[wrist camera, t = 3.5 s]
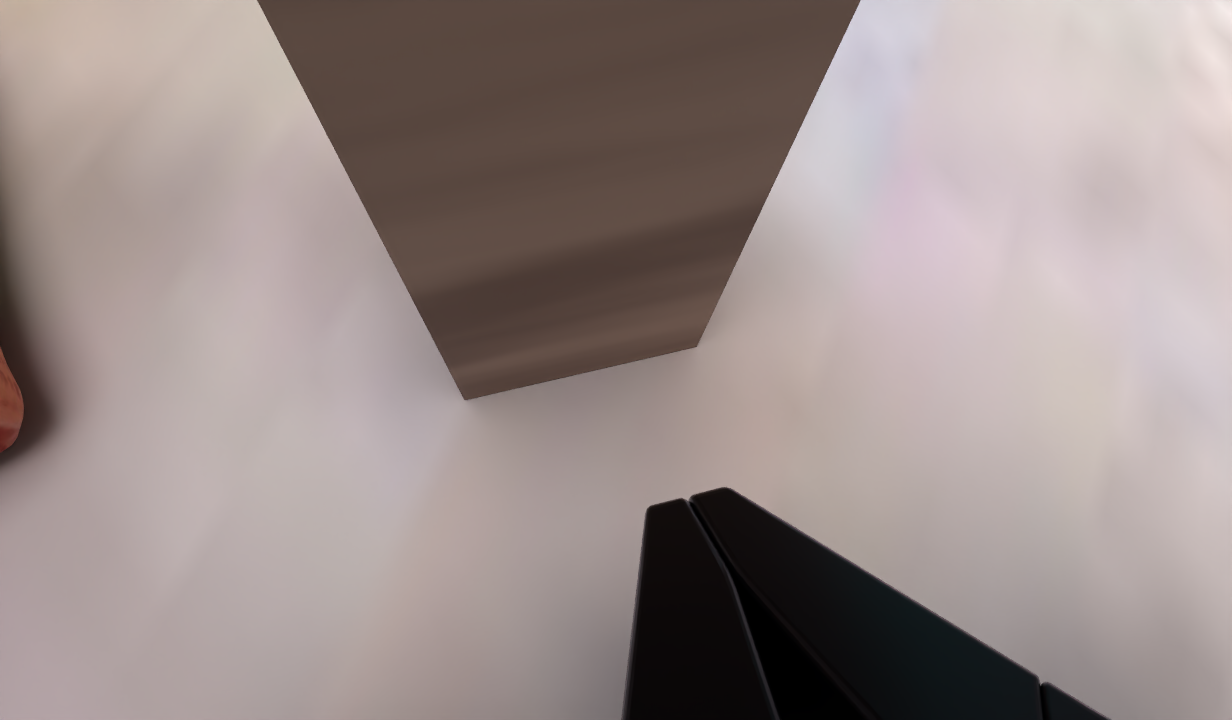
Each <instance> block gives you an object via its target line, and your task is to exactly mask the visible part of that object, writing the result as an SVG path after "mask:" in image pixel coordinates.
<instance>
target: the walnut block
mask: <svg viewBox="0 0 1232 720" xmlns="http://www.w3.org/2000/svg"><path fill="white" fill-rule="evenodd" d="M257 1H258V3H259V5H260V6H261V8H262V10H263V12H264V14H265V16H266V18H267V20H268V22H269V24H270V26H271V28H272V30H273V32H274V33H275V35H276V37H277V39H278V41H279V43H280V45H281V47H282V49H283V51H284V53H285V55H286V57H287V59H288V60H289V62H290V64H291V66H292V68H293V70H294V72H295V74H296V76H297V78H298V80H299V82H300V84H301V86H302V87H303V89H304V91H305V93H306V95H307V97H308V99H309V101H310V103H311V105H312V107H313V109H314V111H315V113H316V114H317V116H318V118H319V120H320V122H321V124H322V126H323V128H324V130H325V132H326V134H327V136H328V138H329V139H330V141H331V143H332V145H333V147H334V149H335V151H336V153H337V155H338V157H339V159H340V161H341V163H342V165H343V166H344V168H345V170H346V172H347V174H348V176H349V178H350V180H351V182H352V184H353V186H354V188H355V190H356V192H357V193H358V195H359V197H360V199H361V201H362V203H363V205H364V207H365V209H366V211H367V213H368V215H369V217H370V219H371V220H372V222H373V224H374V226H375V228H376V230H377V232H378V234H379V236H380V238H381V240H382V242H383V244H384V246H385V247H386V249H387V251H388V253H389V255H390V257H391V259H392V261H393V263H394V265H395V267H396V269H397V271H398V273H399V274H400V276H401V278H402V280H403V282H404V284H405V286H406V288H407V290H408V292H409V294H410V296H411V298H412V299H413V301H414V303H415V305H416V307H417V309H418V311H419V313H420V315H421V317H422V319H423V321H424V323H425V325H426V326H427V328H428V330H429V332H430V334H431V336H432V338H433V340H434V342H435V344H436V346H437V348H438V350H439V352H440V353H441V355H442V357H443V359H444V361H445V363H446V365H447V367H448V369H449V371H450V373H451V375H452V377H453V379H454V380H455V382H456V384H457V386H458V388H459V390H460V392H461V394H462V396H463V398H464V400H468V399H472V398H476V397H481V396H485V395H489V394H494V393H498V392H502V391H507V390H511V389H515V388H520V387H524V386H528V385H533V384H537V383H541V382H546V381H550V380H554V379H559V378H563V377H567V376H572V375H576V374H580V373H585V372H589V371H593V370H598V369H602V368H606V367H611V366H615V365H619V364H624V363H628V362H632V361H637V360H641V359H645V358H650V357H654V356H658V355H663V354H667V353H671V352H676V351H680V350H684V349H689V348H693V347H697V345H698V343H699V341H700V338H701V336H702V334H703V332H704V330H705V328H706V326H707V324H708V322H709V319H710V317H711V315H712V313H713V311H714V309H715V307H716V305H717V303H718V300H719V298H720V296H721V294H722V292H723V290H724V288H725V286H726V284H727V281H728V279H729V277H730V275H731V273H732V271H733V269H734V267H735V265H736V262H737V260H738V258H739V256H740V254H741V252H742V250H743V248H744V245H745V243H746V241H747V239H748V237H749V235H750V233H751V231H752V229H753V226H754V224H755V222H756V220H757V218H758V216H759V214H760V212H761V210H762V207H763V205H764V203H765V201H766V199H767V197H768V195H769V193H770V191H771V188H772V186H773V184H774V182H775V180H776V178H777V176H778V174H779V172H780V169H781V167H782V165H783V163H784V161H785V159H786V157H787V155H788V152H789V150H790V148H791V146H792V144H793V142H794V140H795V138H796V136H797V133H798V131H799V129H800V127H801V125H802V123H803V121H804V119H805V117H806V114H807V112H808V110H809V108H810V106H811V104H812V102H813V100H814V98H815V95H816V93H817V91H818V89H819V87H820V85H821V83H822V81H823V79H824V76H825V74H826V72H827V70H828V68H829V66H830V64H831V62H832V59H833V57H834V55H835V53H836V51H837V49H838V47H839V45H840V43H841V40H842V38H843V36H844V34H845V32H846V30H847V28H848V26H849V24H850V21H851V19H852V17H853V15H854V13H855V11H856V9H857V7H858V5H859V2H860V0H257Z"/></svg>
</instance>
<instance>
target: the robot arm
mask: <svg viewBox="0 0 1232 720" xmlns="http://www.w3.org/2000/svg"><path fill="white" fill-rule="evenodd" d="M621 720H1111V719H1109V718H1107V717H1106V716H1104V715H1102V714H1100V713H1099V712H1097V711H1095V710H1094V709H1092V708H1090V707H1089V706H1087V705H1085V704H1084V703H1082V702H1081V701H1079V700H1077V699H1076V698H1074V697H1072V696H1071V695H1069V694H1067V693H1066V692H1064V691H1063V690H1061V689H1059V688H1058V687H1056V686H1054V685H1053V684H1051V683H1049V682H1044V683H1042V684H1041V686H1040V680H1039V677H1038V676H1037V675H1036V674H1034V673H1032V672H1031V671H1029V670H1027V669H1026V668H1024V667H1023V666H1021V665H1019V664H1018V663H1016V662H1014V661H1013V660H1011V659H1009V658H1008V657H1006V656H1005V655H1003V654H1001V653H1000V652H998V651H996V650H995V649H993V648H991V647H990V646H988V645H987V644H985V643H983V642H982V641H980V640H978V639H977V638H975V637H973V636H972V635H970V634H969V633H967V632H965V631H964V630H962V629H960V628H959V627H957V626H955V625H954V624H952V623H951V622H949V621H947V620H946V619H944V618H942V617H941V616H939V615H937V614H936V613H934V612H933V611H931V610H929V609H928V608H926V607H924V606H923V605H921V604H919V603H918V602H916V601H915V600H913V599H911V598H910V597H908V596H906V595H905V594H903V593H901V592H900V591H898V590H897V589H895V588H893V587H892V586H890V585H888V584H887V583H885V582H883V581H882V580H880V579H879V578H877V577H875V576H874V575H872V574H870V573H869V572H867V571H865V570H864V569H862V568H861V567H859V566H857V565H856V564H854V563H852V562H851V561H849V560H847V559H846V558H844V557H843V556H841V555H839V554H838V553H836V552H834V551H833V550H831V549H829V548H828V547H826V546H825V545H823V544H821V543H820V542H818V541H816V540H815V539H813V538H811V537H810V536H808V535H807V534H805V533H803V532H802V531H800V530H798V529H797V528H795V527H793V526H792V525H790V524H789V523H787V522H785V521H784V520H782V519H780V518H779V517H777V516H775V515H774V514H772V513H771V512H769V511H767V510H766V509H764V508H762V507H761V506H759V505H757V504H756V503H754V502H753V501H751V500H749V499H748V498H746V497H744V496H743V495H741V494H739V493H738V492H736V491H735V490H733V489H731V488H727V487H722V488H718V489H714V490H710V491H706V492H702V493H698V494H694V495H692V496H691V497H690V499H689V501H687V500H685V499H683V498H679V499H675V500H671V501H667V502H663V503H659V504H655V505H652V506H650V507H648V508H647V510H646V513H645V521H644V530H643V538H642V547H641V556H640V564H639V573H638V581H637V590H636V598H635V607H634V615H633V624H632V633H631V641H630V650H629V658H628V667H627V675H626V684H625V692H624V701H623V709H622V718H621Z"/></svg>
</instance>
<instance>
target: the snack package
mask: <svg viewBox="0 0 1232 720" xmlns="http://www.w3.org/2000/svg"><path fill="white" fill-rule="evenodd" d="M23 412H24V404H23V399H22V395H21V390H20V389H19V387H18V385H17V383H16V381H15V379H14V377H13V375H12V373H11V371H10V369H9V367H8V366H7V363H6V360H5V358H4V355H3V353H2V350H1V347H0V453H1V452H2V451H4V450H5V449H7V448H8V447H9V446H11V445H12V444H13V443H14V441H15V440H16V439H17V437H18V433H19V430H20V427H21V423H22V420H23Z"/></svg>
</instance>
